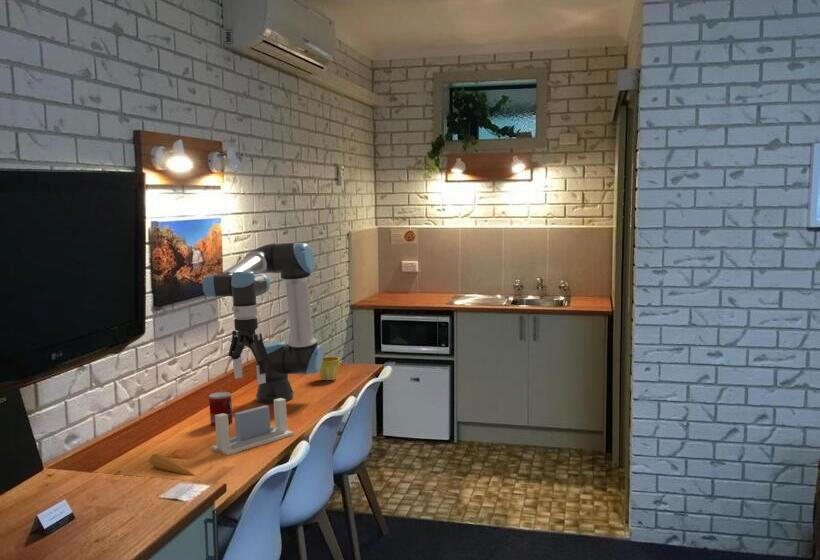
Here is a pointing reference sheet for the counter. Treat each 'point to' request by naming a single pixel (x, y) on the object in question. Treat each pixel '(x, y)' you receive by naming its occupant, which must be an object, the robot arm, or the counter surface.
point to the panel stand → (231, 446)
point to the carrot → (167, 464)
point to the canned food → (220, 405)
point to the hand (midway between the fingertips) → (249, 380)
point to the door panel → (252, 423)
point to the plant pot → (329, 368)
